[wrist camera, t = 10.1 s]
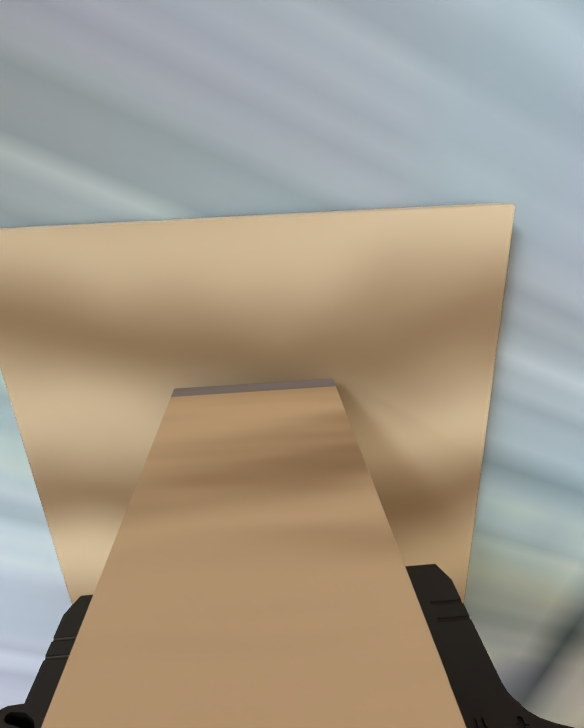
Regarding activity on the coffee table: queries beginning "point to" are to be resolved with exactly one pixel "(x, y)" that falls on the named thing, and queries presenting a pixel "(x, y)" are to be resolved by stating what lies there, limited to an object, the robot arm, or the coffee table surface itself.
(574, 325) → the coffee table surface
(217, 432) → the block
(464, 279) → the board
